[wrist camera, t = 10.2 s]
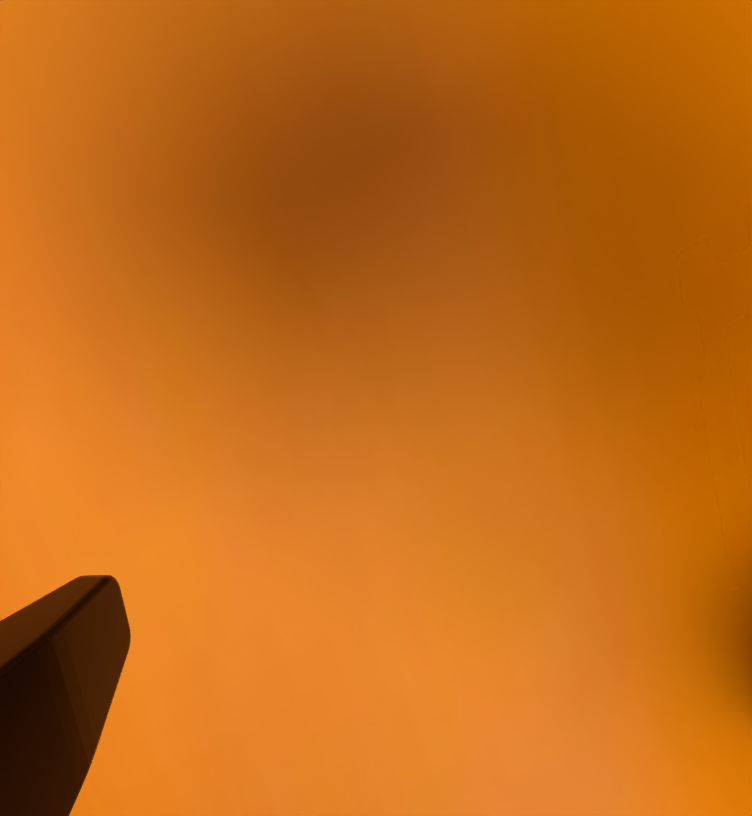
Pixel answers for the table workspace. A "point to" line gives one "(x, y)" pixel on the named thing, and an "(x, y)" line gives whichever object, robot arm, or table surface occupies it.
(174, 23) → the table surface
